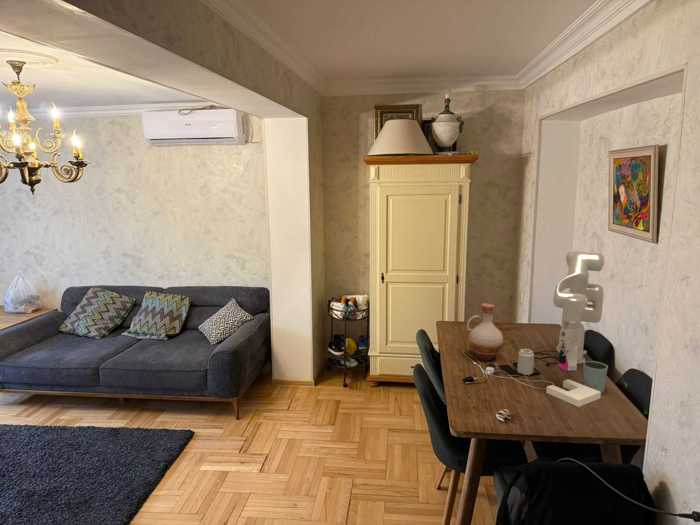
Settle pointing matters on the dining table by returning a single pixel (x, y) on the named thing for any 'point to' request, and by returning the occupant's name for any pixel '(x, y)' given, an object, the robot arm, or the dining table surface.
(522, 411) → the dining table surface
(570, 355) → the supplement box
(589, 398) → the notched board
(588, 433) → the dining table surface
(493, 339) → the jug
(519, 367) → the can
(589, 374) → the grey-green cup
